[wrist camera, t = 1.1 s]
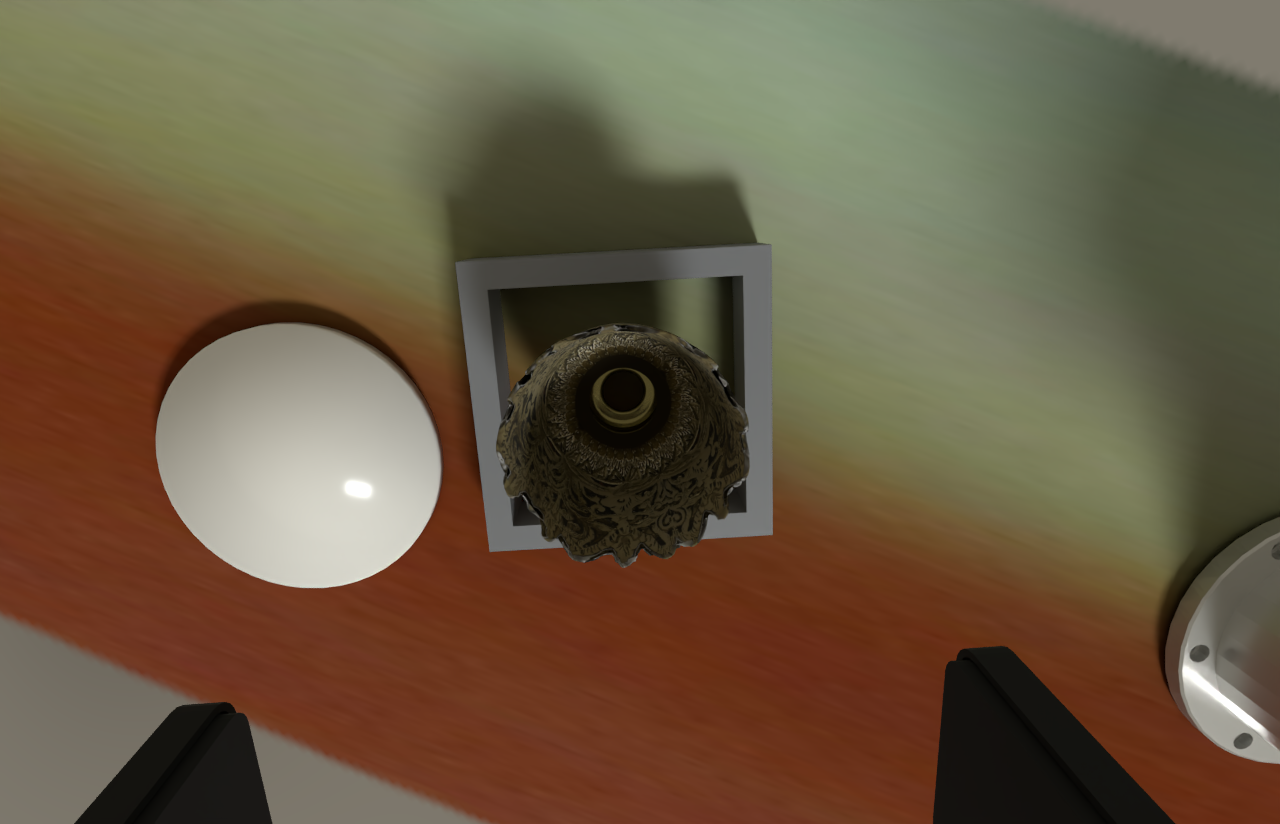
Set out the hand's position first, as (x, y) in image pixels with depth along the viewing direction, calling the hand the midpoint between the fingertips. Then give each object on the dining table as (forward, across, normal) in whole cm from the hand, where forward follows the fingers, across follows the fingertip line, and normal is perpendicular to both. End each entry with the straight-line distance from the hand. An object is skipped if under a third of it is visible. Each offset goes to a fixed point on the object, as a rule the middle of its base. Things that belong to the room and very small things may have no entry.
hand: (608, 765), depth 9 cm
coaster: (+20, +12, +2) cm, 23 cm away
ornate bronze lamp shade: (+20, -1, 0) cm, 20 cm away
